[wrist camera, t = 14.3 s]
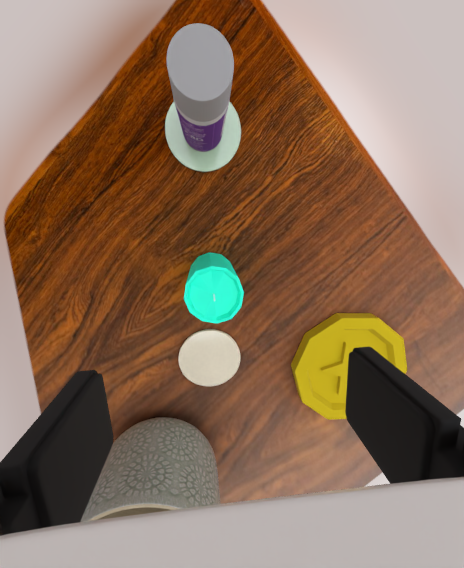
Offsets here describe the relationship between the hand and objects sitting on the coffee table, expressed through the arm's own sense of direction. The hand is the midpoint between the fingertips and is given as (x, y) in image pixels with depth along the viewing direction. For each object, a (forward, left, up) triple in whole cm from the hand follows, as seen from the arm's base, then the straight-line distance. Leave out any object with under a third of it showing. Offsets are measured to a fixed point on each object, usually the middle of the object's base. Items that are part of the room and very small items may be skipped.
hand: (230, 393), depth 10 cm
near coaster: (0, +16, -28) cm, 32 cm away
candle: (0, -1, -28) cm, 28 cm away
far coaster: (-1, -14, -28) cm, 31 cm away
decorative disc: (+20, -17, -28) cm, 38 cm away
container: (0, +16, -27) cm, 32 cm away
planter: (-9, -29, -28) cm, 41 cm away
